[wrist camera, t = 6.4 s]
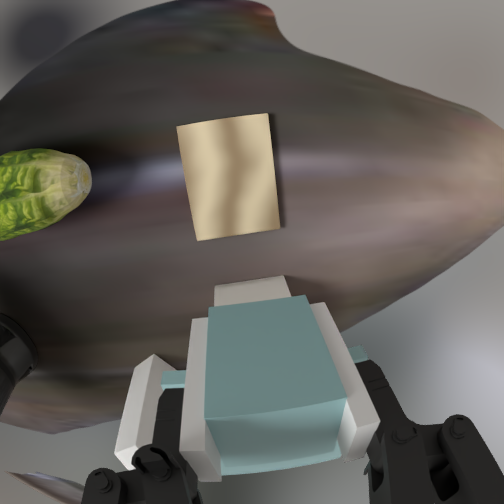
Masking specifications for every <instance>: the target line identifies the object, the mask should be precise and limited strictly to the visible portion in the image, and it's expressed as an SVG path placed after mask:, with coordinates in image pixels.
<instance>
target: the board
mask: <svg viewBox="0 0 504 504" xmlns="http://www.w3.org/2000/svg"><path fill="white" fill-rule="evenodd" d="M177 134H178V140H179V146H180V152H181V158H182V164H183V169H184V175H185V181H186V186H187V192H188V197H189V202H190V207H191V213H192V218H193V223H194V228H195V233H196V238H197V241H200V240H207V239H213V238H220V237H227V236H233V235H240V234H247V233H254V232H260V231H267V230H274V229H280V221H279V210H278V200H277V190H276V181H275V171H274V162H273V153H272V144H271V135H270V127H269V119H268V113H265V114H256V115H247V116H239V117H231V118H224V119H218V120H211V121H205V122H199V123H193V124H188V125H183V126H178V127H177Z"/></svg>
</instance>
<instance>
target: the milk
mask: <svg viewBox="0 0 504 504" xmlns="http://www.w3.org/2000/svg"><path fill="white" fill-rule="evenodd" d="M163 371H177V370H176V369H175V368H173V367H172V366H170V365H169V364H167V363H166V362H165V361H163V360H162V359H161V358H159V357H158V356H156V355H155V354H153V355H151V356H150V357H149V358H147V359H146V360H144V361H143V362H142V363H140V364H139V365H137V366H136V367H135V368H134V372H133V376H132V379H131V383H130V387H129V391H128V395H127V399H126V403H125V407H124V411H123V415H122V420H121V424H120V429H119V433H118V438H117V442H116V447H115V452H114V454H115V455H116V456H117V458H118V459H119V460H120V461H121V462H122V463H123V465H124V466H125V467H126V468H127V469H128V470H133V469H136V468H135V467H134V466H133V465H132V464H131V461H132V456H133V455H134V453H135V451H136V450H138V449H139V448H140V447H142V446H144V445H147V444H152V439H153V432H154V425H155V421H156V412H157V406H158V400H159V397H160V396H161V394H162V393H163V389H162V387H161V379H162V373H163Z"/></svg>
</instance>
